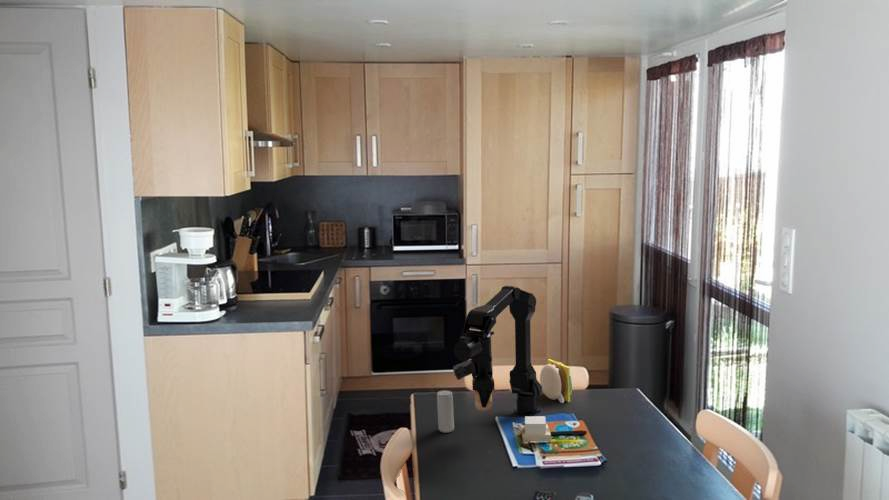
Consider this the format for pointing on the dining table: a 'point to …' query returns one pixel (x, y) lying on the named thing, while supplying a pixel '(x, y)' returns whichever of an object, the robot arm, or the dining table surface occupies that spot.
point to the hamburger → (556, 381)
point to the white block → (535, 425)
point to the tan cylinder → (479, 405)
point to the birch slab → (536, 435)
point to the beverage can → (445, 411)
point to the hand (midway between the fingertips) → (483, 404)
